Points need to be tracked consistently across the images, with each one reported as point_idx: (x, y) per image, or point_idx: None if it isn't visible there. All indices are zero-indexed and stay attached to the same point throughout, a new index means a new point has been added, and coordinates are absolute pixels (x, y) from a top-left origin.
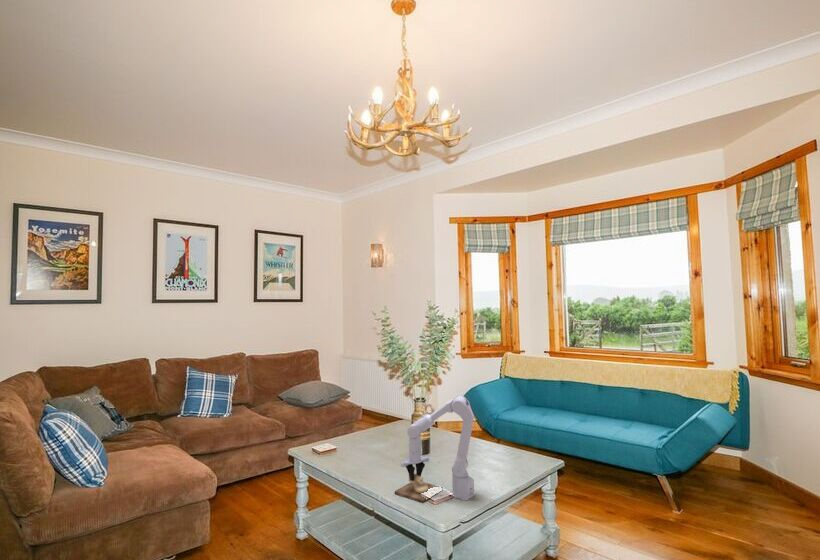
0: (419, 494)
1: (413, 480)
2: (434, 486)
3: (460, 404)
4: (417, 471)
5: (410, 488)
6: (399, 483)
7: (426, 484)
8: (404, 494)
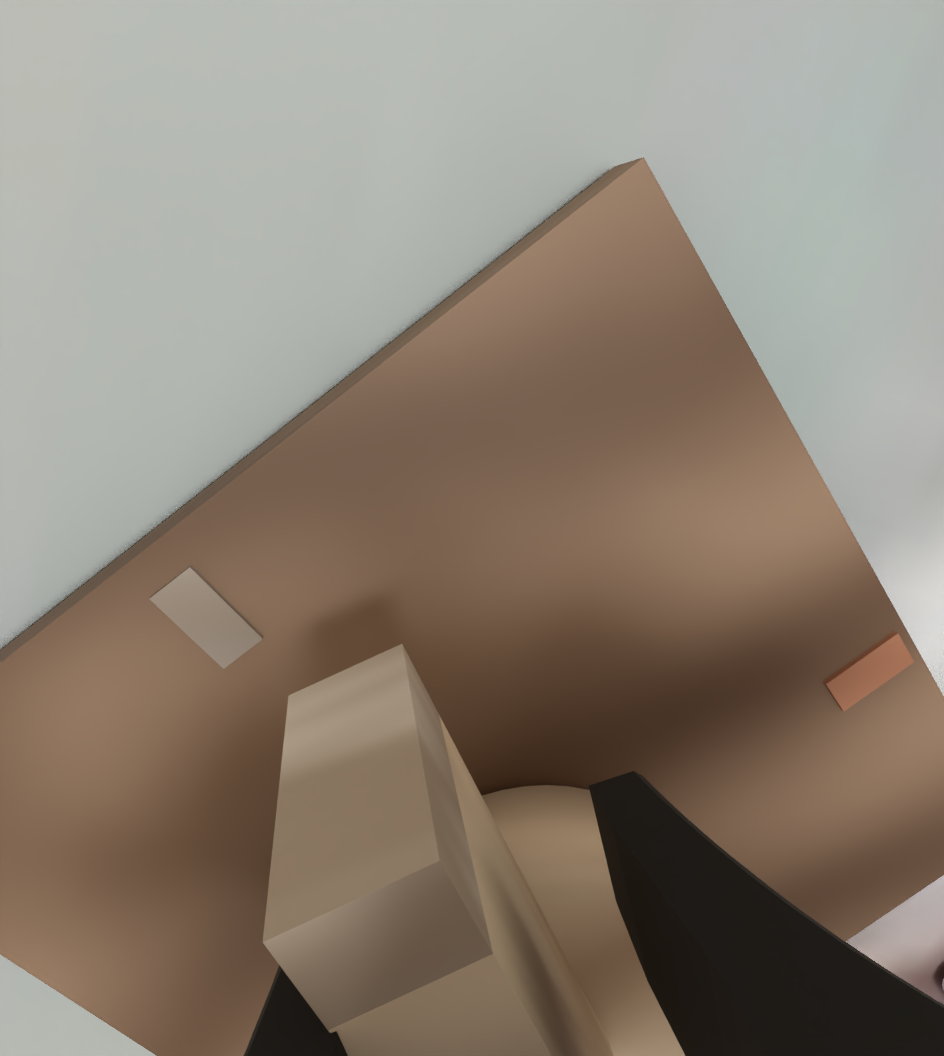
0: None
1: None
2: (898, 745)
3: None
4: (730, 1049)
5: None
6: (78, 29)
7: None
8: (82, 1005)
